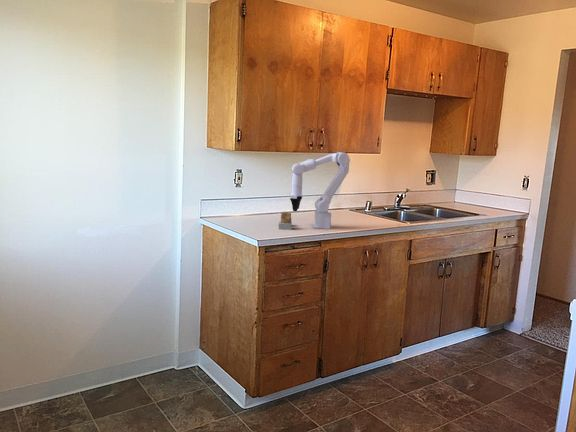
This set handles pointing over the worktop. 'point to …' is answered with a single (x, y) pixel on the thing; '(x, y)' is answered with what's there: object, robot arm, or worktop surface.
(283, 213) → the walnut block
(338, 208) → the worktop surface
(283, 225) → the slate base block
